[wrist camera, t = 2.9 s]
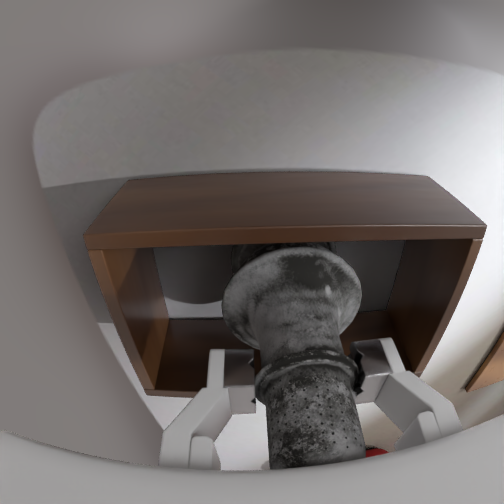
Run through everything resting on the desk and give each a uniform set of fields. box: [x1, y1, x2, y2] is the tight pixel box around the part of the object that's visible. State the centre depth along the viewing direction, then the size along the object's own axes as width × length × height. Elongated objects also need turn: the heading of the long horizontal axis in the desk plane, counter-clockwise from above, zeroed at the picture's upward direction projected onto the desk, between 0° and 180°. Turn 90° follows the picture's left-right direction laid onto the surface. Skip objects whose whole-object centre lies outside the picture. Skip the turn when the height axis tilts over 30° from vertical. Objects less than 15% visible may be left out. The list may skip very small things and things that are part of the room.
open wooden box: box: [83, 172, 487, 398], centre depth 14 cm, size 9×14×5 cm, turn 91°
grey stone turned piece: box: [221, 242, 366, 470], centre depth 11 cm, size 6×6×12 cm
